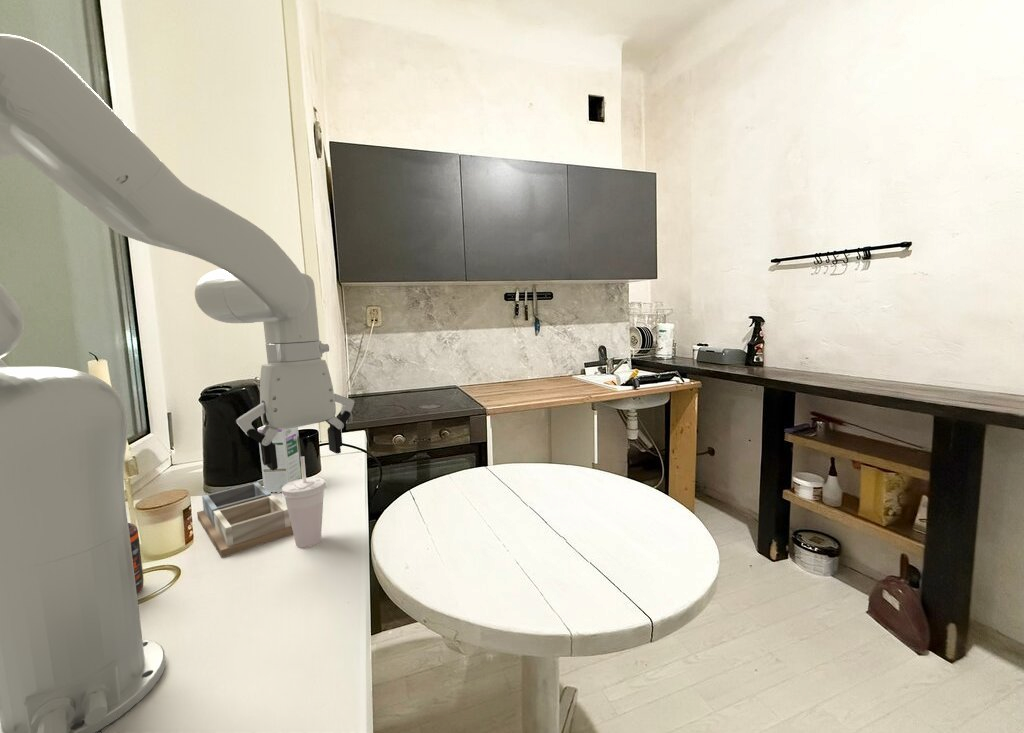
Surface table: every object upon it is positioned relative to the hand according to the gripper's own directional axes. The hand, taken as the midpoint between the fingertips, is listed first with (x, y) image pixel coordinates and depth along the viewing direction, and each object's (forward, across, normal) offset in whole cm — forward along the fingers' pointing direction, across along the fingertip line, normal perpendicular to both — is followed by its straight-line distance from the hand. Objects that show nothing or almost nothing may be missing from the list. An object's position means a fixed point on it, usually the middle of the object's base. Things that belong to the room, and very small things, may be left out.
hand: (305, 459), depth 69 cm
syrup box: (+14, -4, -28) cm, 32 cm away
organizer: (+14, +6, -14) cm, 21 cm away
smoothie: (+14, +1, 0) cm, 14 cm away
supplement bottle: (+13, +24, -4) cm, 28 cm away
